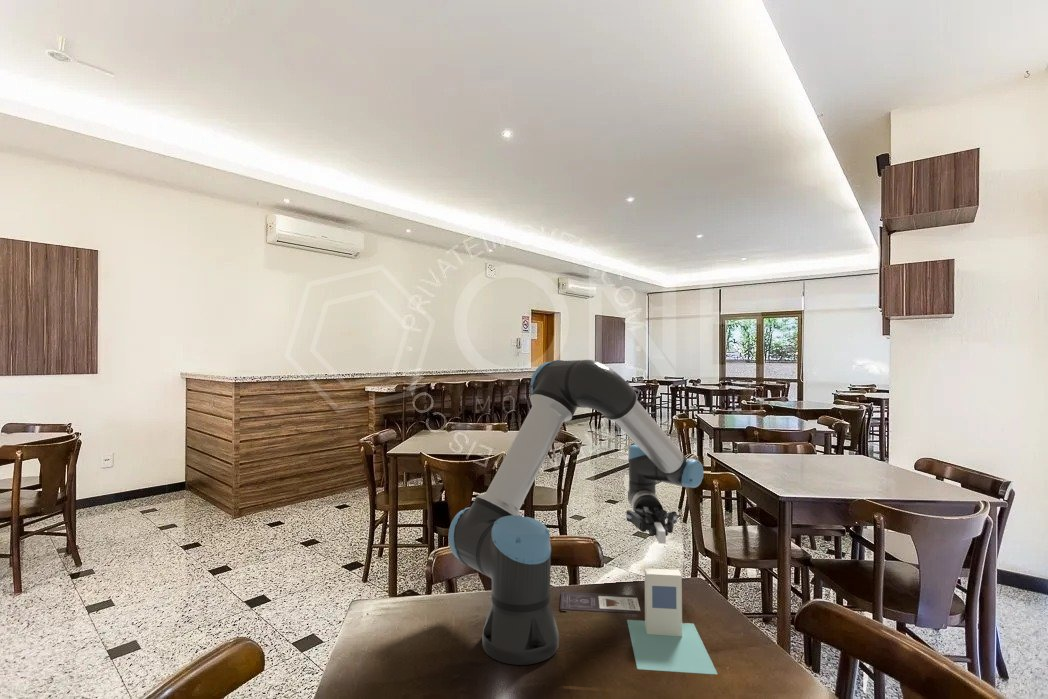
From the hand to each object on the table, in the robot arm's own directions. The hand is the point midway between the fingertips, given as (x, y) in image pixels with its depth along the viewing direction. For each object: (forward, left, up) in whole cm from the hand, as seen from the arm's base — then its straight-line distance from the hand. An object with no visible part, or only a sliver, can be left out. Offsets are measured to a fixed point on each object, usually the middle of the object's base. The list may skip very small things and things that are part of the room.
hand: (662, 537), depth 111 cm
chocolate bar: (-14, 0, -18) cm, 23 cm away
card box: (+1, -8, -16) cm, 18 cm away
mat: (+2, -13, -17) cm, 21 cm away
